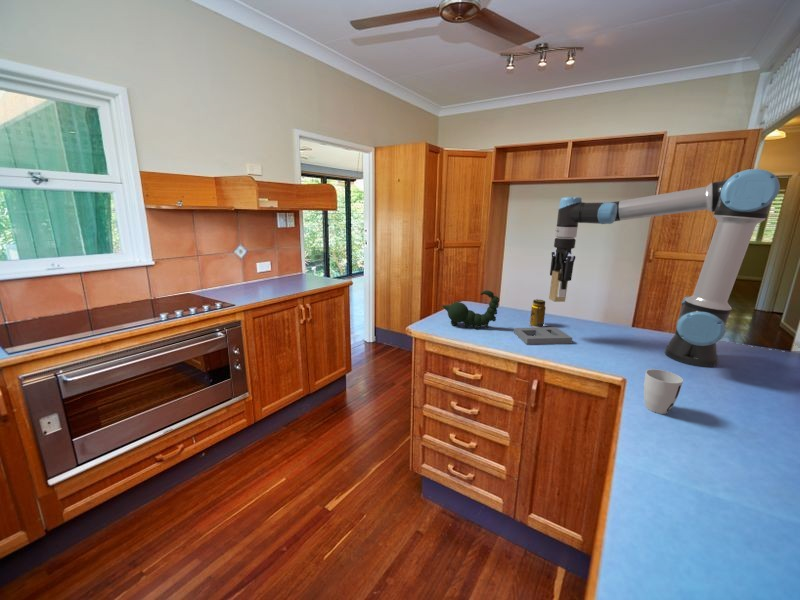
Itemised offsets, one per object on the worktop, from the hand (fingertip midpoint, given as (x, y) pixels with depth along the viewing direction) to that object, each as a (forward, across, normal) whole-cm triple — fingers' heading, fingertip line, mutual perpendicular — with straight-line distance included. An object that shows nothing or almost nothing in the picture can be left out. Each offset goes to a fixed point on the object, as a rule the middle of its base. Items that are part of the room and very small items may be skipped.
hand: (557, 295), depth 142 cm
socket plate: (+19, 0, -4) cm, 19 cm away
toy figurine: (+19, -17, -32) cm, 40 cm away
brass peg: (+2, 0, 0) cm, 2 cm away
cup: (+19, +54, +1) cm, 57 cm away
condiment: (+19, -17, +2) cm, 26 cm away
